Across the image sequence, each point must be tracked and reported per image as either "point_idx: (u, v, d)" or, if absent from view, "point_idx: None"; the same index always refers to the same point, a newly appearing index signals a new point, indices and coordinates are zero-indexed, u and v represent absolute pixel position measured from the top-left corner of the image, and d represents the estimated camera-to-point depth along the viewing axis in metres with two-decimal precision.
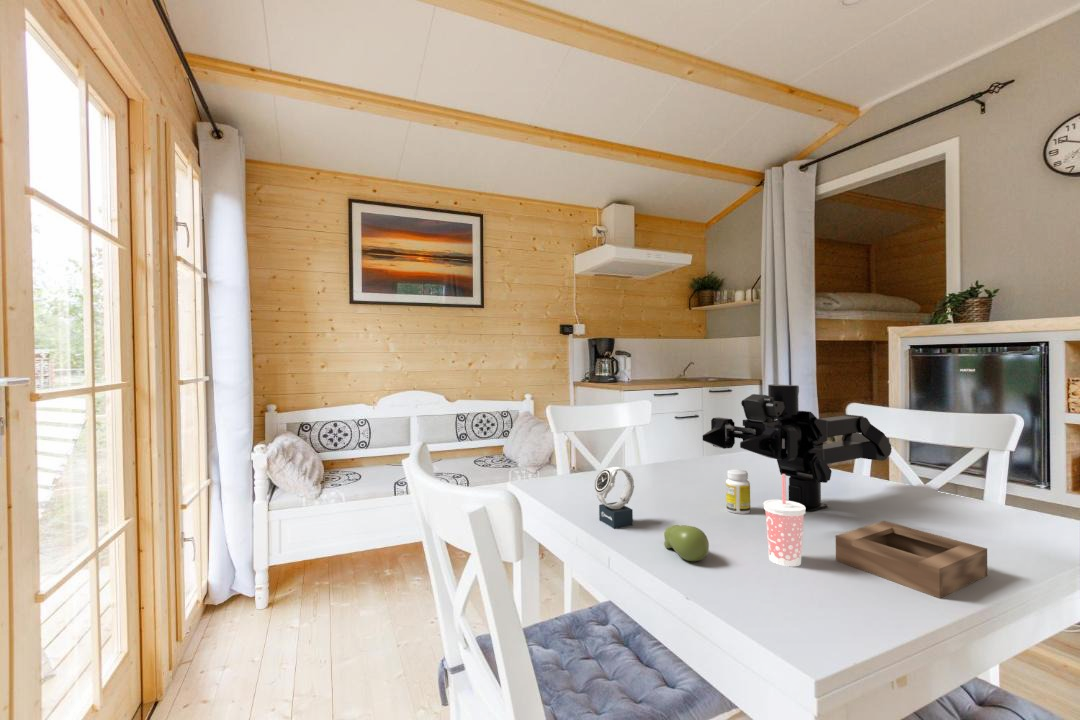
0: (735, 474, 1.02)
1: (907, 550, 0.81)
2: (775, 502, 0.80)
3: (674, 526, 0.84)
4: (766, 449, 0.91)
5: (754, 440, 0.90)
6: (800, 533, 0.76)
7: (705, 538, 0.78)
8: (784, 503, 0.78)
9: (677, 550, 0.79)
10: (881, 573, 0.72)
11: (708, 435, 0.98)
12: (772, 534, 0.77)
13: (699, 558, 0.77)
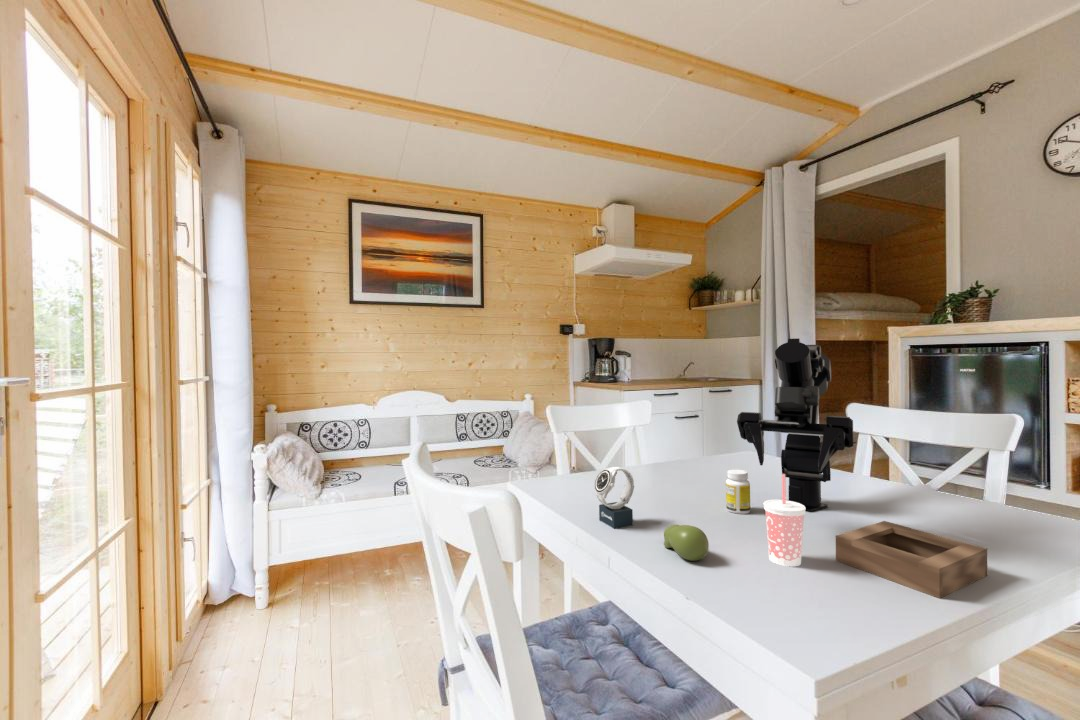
0: (735, 474, 1.02)
1: (907, 550, 0.81)
2: (775, 502, 0.80)
3: (674, 526, 0.84)
4: (831, 449, 0.85)
5: (826, 455, 0.83)
6: (800, 533, 0.76)
7: (705, 537, 0.78)
8: (784, 503, 0.78)
9: (677, 550, 0.79)
10: (881, 573, 0.72)
11: (762, 456, 0.88)
12: (772, 534, 0.77)
13: (699, 557, 0.77)
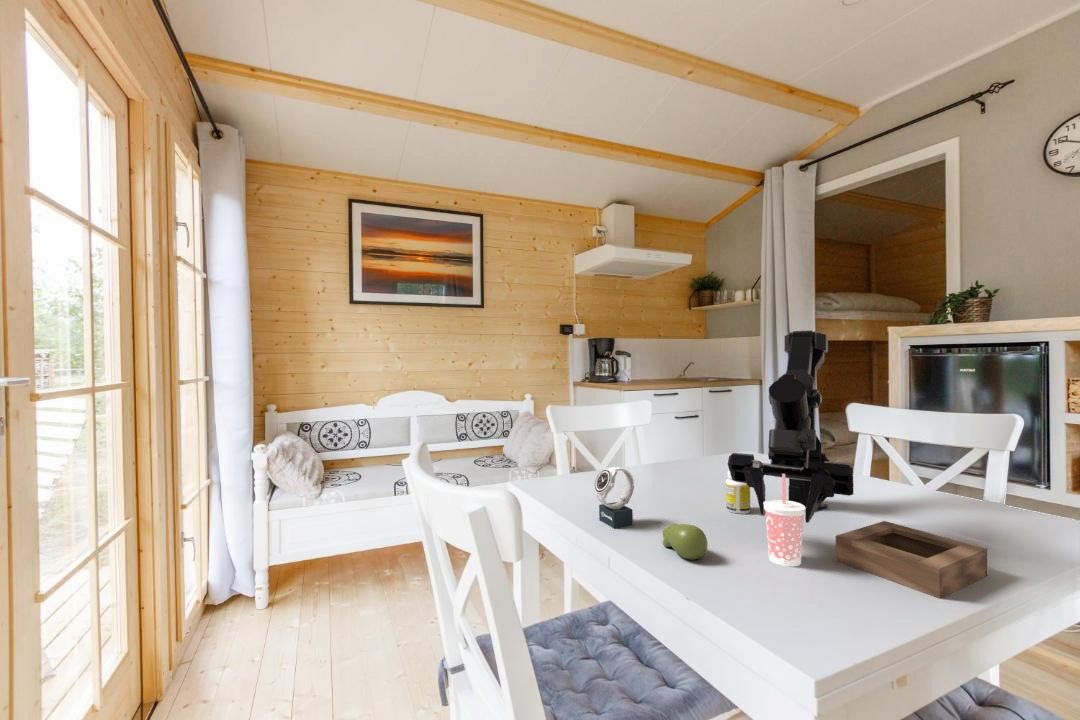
0: None
1: (907, 550, 0.81)
2: (775, 502, 0.80)
3: (673, 525, 0.84)
4: (819, 497, 0.79)
5: (814, 505, 0.77)
6: (800, 533, 0.76)
7: (704, 536, 0.79)
8: (784, 503, 0.78)
9: (676, 548, 0.79)
10: (881, 573, 0.72)
11: None
12: (772, 534, 0.77)
13: (698, 556, 0.78)
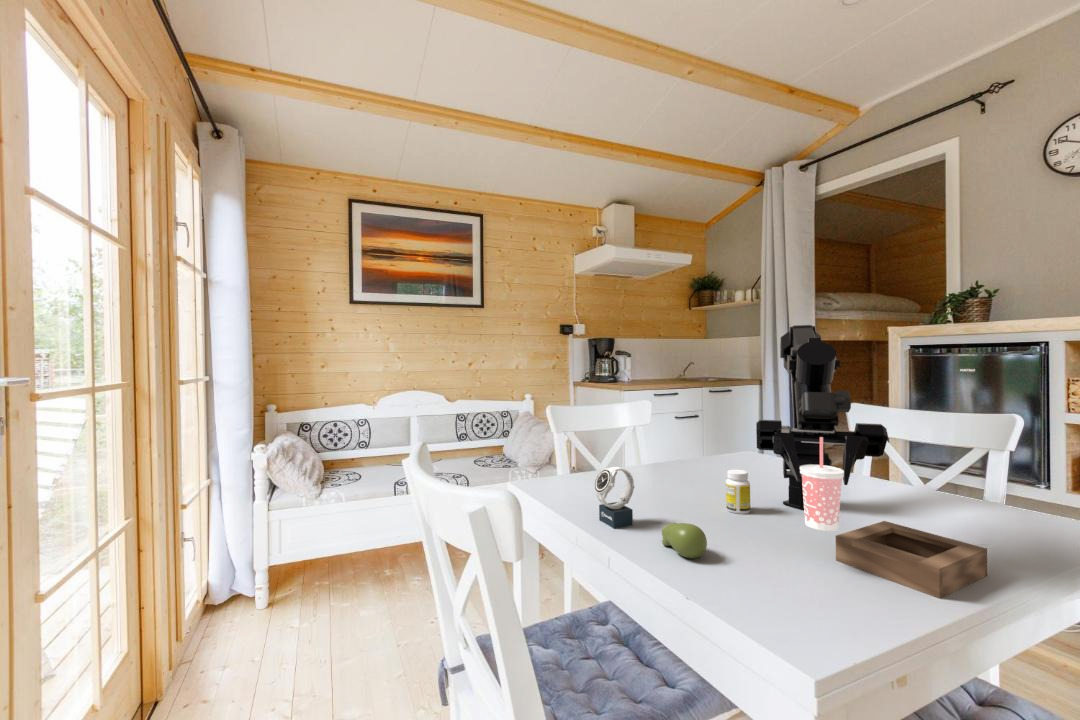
0: (735, 474, 1.02)
1: (907, 550, 0.81)
2: (810, 467, 0.78)
3: (672, 524, 0.85)
4: None
5: (851, 467, 0.75)
6: (840, 496, 0.74)
7: (703, 535, 0.79)
8: (822, 467, 0.76)
9: (676, 547, 0.80)
10: (881, 573, 0.72)
11: (799, 471, 0.78)
12: (812, 499, 0.75)
13: (698, 555, 0.78)
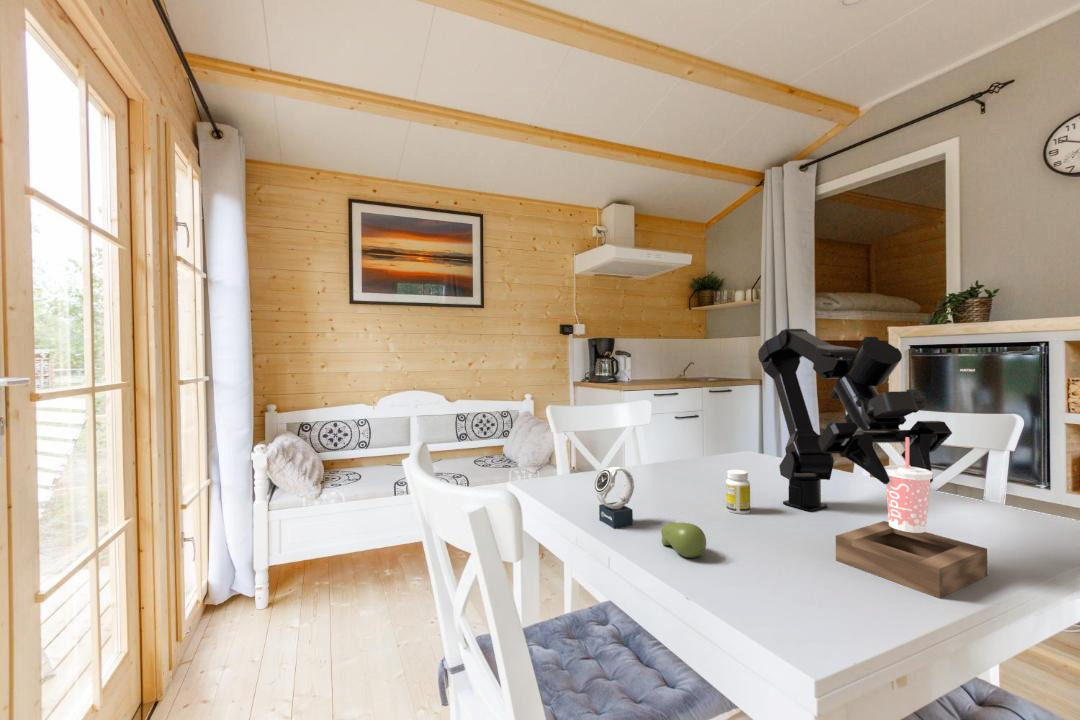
0: (735, 474, 1.02)
1: (907, 550, 0.81)
2: (892, 468, 0.76)
3: (671, 523, 0.85)
4: None
5: None
6: None
7: (703, 535, 0.79)
8: (909, 467, 0.75)
9: (675, 547, 0.80)
10: (881, 573, 0.72)
11: None
12: (907, 501, 0.73)
13: (697, 554, 0.79)
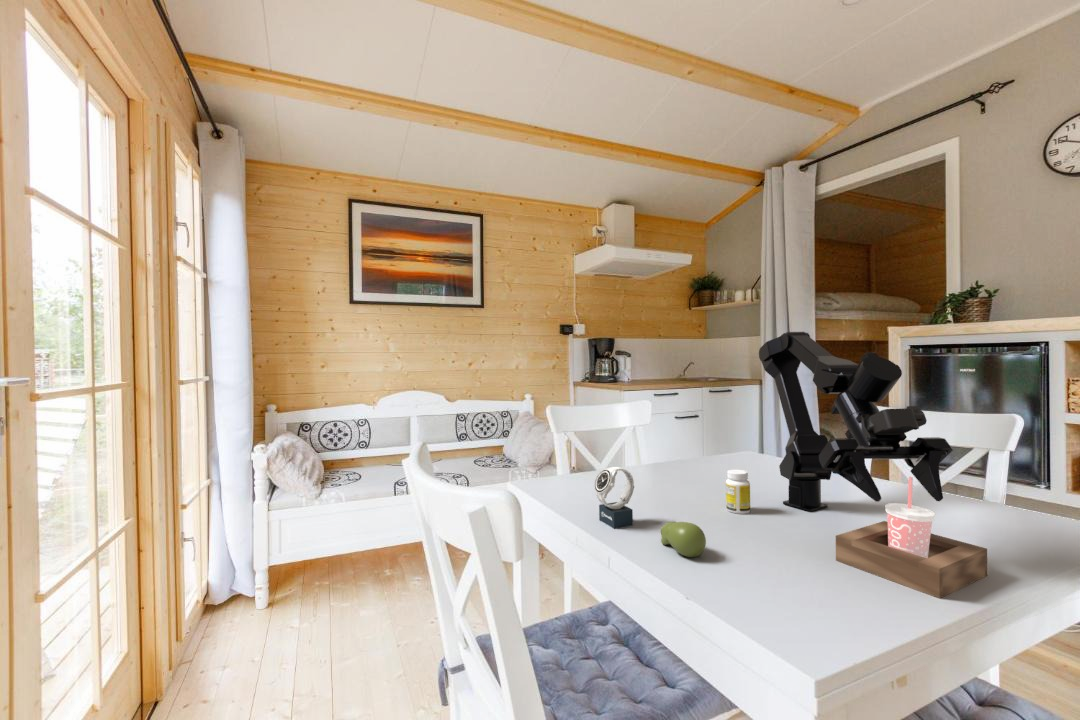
0: (735, 474, 1.02)
1: None
2: (894, 507, 0.76)
3: (671, 523, 0.85)
4: None
5: None
6: None
7: (702, 534, 0.80)
8: (911, 507, 0.74)
9: (675, 546, 0.80)
10: (881, 573, 0.72)
11: None
12: (909, 542, 0.73)
13: (697, 553, 0.79)
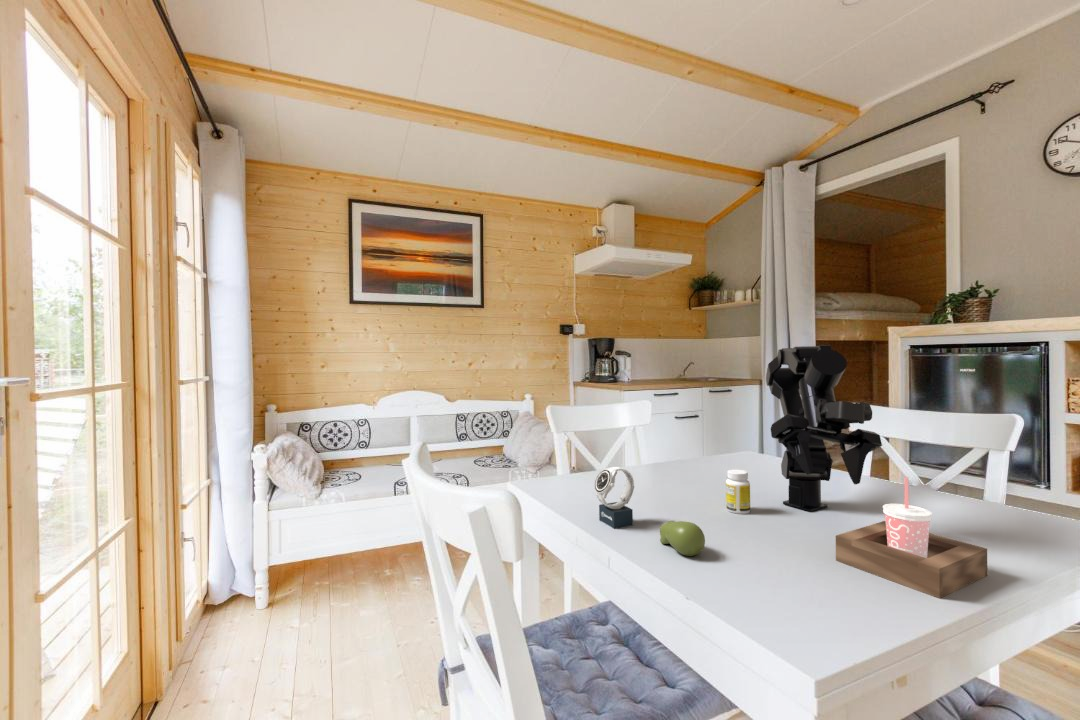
0: (735, 474, 1.02)
1: None
2: (891, 507, 0.76)
3: (670, 522, 0.86)
4: None
5: None
6: None
7: (701, 533, 0.80)
8: (908, 507, 0.75)
9: (675, 545, 0.81)
10: (881, 573, 0.72)
11: None
12: (907, 542, 0.73)
13: (696, 552, 0.79)
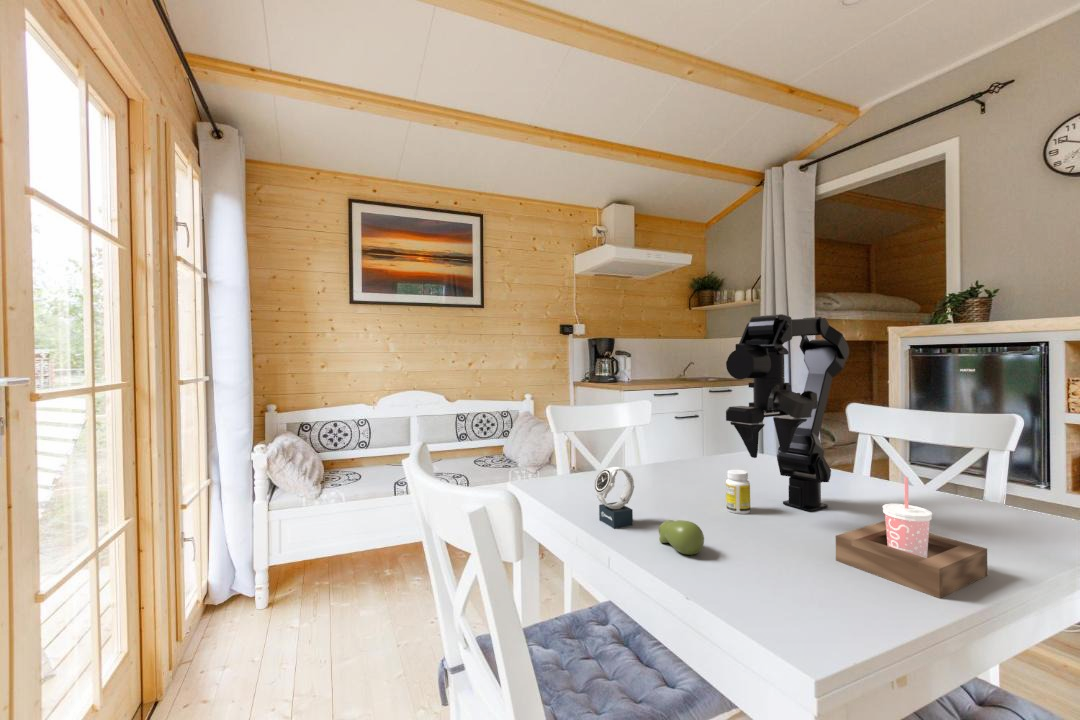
0: (735, 474, 1.02)
1: None
2: (891, 508, 0.76)
3: (669, 521, 0.86)
4: None
5: None
6: None
7: (701, 532, 0.81)
8: (908, 507, 0.75)
9: (674, 544, 0.81)
10: (881, 573, 0.72)
11: None
12: (907, 542, 0.73)
13: (695, 551, 0.80)
